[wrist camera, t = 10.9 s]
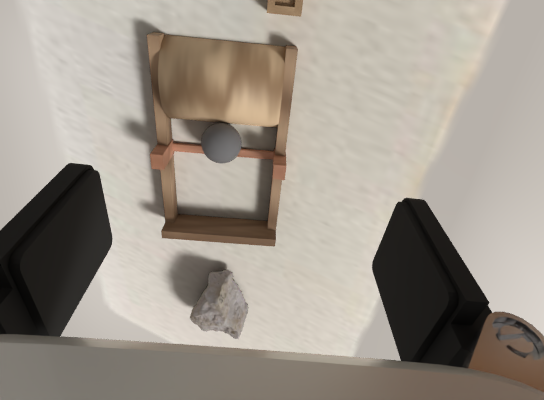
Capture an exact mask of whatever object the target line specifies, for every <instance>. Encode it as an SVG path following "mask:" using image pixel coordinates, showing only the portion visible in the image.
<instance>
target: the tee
mask: <svg viewBox="0 0 544 400" xmlns="http://www.w3.org/2000/svg"><path fill="white" fill-rule="evenodd" d="M302 4H303V0H268V4H267V13H272V14H282V15H292V16H301V13H302Z"/></svg>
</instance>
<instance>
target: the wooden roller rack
mask: <svg viewBox="0 0 544 400" xmlns="http://www.w3.org/2000/svg"><path fill="white" fill-rule="evenodd" d="M147 42H148V52H149V62H150V72H151V82H152V92H153V102H154V112H155V122H156V132H157V142H158V144H157V145H156V147H155V148H154V149H153V151H152V152H151V154H150V158H151V167H152V169H159V170H160V172H161V182H162V192H163V202H164V212H165V224H164V226H163V229H162V231H161V232H162V238H169V239H183V240H196V241H209V242H222V243H236V244H249V245H262V246H275V241H276V224H277V215H278V207H279V199H280V191H281V183H282V180H285V172H286V152H285V150H286V142H287V134H288V125H289V117H290V109H291V101H292V93H293V84H294V76H295V68H296V60H297V52H298V49H297V47H296V46H287V45H286V47H283V46H273V45H263V44H253V43H243V42H233V41H223V40H213V39H203V38H193V37H183V36H173V35H165V34H164V33H157V32H152V33H150V34H147ZM171 118H176V119H187V120H198V121H209V122H220V123H231V124H242V125H254V126H265V127H276V128H277V135H276V145H275V148H274V151H265V150H253V149H242V148H241V150H240V152H239V154H238V156H237V157H249V158H260V159H272V160H273V174H272V183H271V193H270V202H269V212H268V221H261V220H248V219H235V218H223V217H210V216H197V215H184V214H178V210H177V197H176V183H175V170H174V156H173V154H174V151H179V152H191V153H202V154H204V152H203V150H202V146H201V145H196V144H184V143H173V139H172V129H171Z"/></svg>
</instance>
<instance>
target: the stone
mask: <svg viewBox="0 0 544 400" xmlns="http://www.w3.org/2000/svg"><path fill="white" fill-rule="evenodd" d="M232 277H233V273H232V272H231V271H229V270H223V271H221V272H210V274H209V276H208V286H207V288H206V289H205V290H204V291H203V293H202V295H201V297H200V299H199V300H198V302H197V304H196V306H194V307H193V309H192V313H191V316H190V319H191V320H192V321H193V323H195V324H197V325H198V326H199V327H200V328H201V330H203V331H209V330H214V331H224V332H225V333H228V334H229V335H231V336H232V337H233V338H235V339H239V337H240V334H241V332H242V329H243V326H244V322H245V319H246V315H247V313H248V304H247V303H246V302H245V299H244V297H243V294H242V291H241V290H240V289H239V287H238V284H237V283H235V281H233V279H232Z"/></svg>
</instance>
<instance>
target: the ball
mask: <svg viewBox="0 0 544 400" xmlns="http://www.w3.org/2000/svg"><path fill="white" fill-rule="evenodd" d="M201 146H202V150H203V152H204V154H205V155H206V156H207V157H208V158H209V159H210V160H212V161H214V162H216V163H227V162H230V161H232V160H234V159H235V158H236V157H237V156H238V154H239V152H240V150H241V138H240V135H239V133H238V132H237V130H236V129H235V128H234V127H232V126H231V125H228V124H225V123H216V124H213V125H211V126H210V127H208V128H207V129H206V130H205V132H204V134H203V136H202V140H201Z"/></svg>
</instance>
